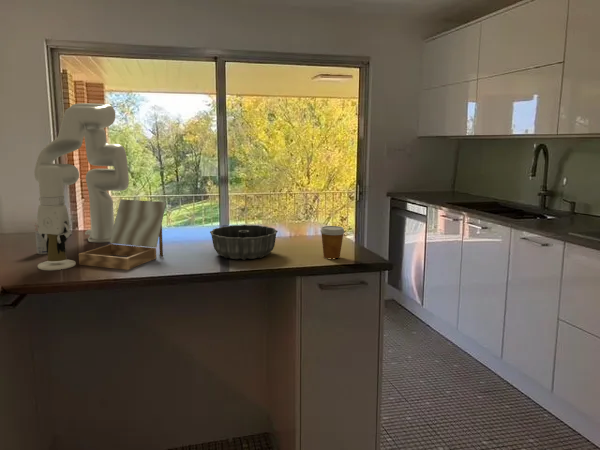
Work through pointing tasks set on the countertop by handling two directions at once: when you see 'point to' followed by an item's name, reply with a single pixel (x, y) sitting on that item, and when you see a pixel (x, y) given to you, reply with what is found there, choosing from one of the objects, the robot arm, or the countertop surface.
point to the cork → (54, 249)
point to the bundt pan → (243, 241)
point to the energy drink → (40, 242)
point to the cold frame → (130, 236)
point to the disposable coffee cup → (332, 241)
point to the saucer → (56, 265)
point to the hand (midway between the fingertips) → (56, 252)
